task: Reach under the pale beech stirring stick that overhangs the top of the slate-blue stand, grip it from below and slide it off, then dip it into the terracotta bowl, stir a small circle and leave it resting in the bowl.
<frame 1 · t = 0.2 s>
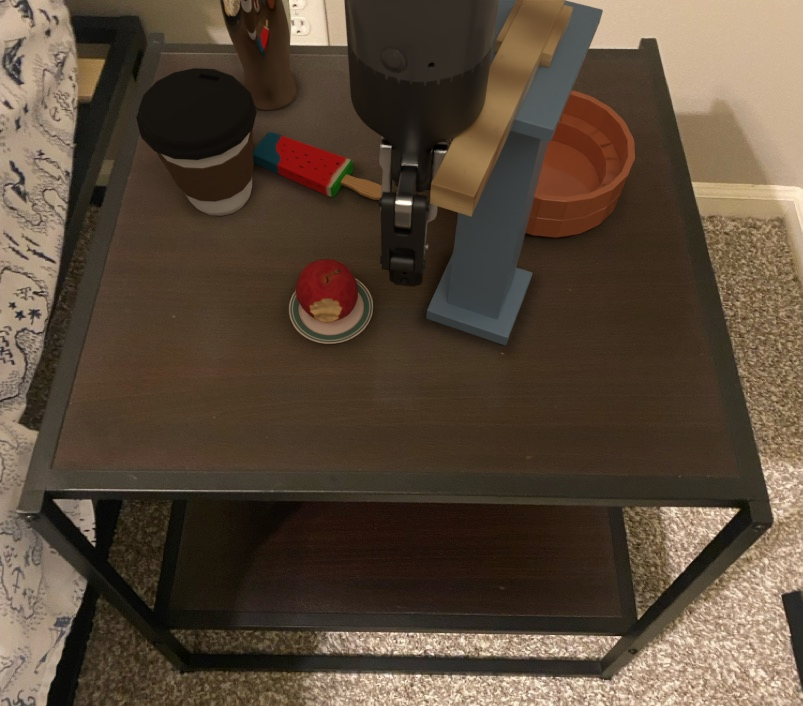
hand: (413, 231, 50), 18 cm above the nightstand, tool pointing down, fingers open, 8 cm apart
coffee cup: (221, 195, 75), on the nightstand
stick: (501, 102, 42), point 28 cm above the nightstand, touching hand
stand: (479, 299, 69), on the nightstand
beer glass: (271, 93, 83), on the nightstand
popsicle: (321, 176, 77), on the nightstand
bowl: (544, 182, 77), on the nightstand
apple: (331, 311, 68), on the nightstand
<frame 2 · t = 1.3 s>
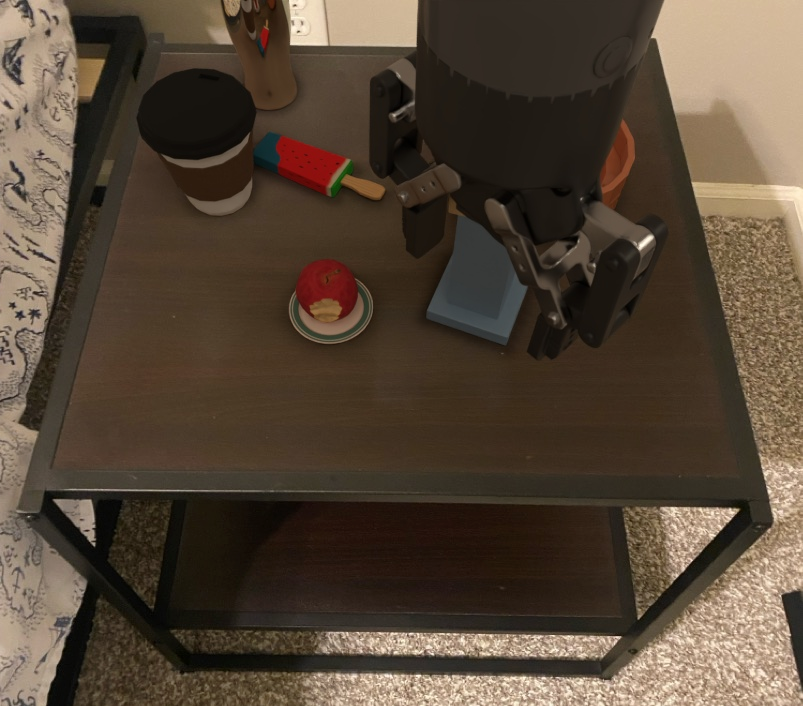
hand: (482, 294, 37), 27 cm above the nightstand, tool pointing down, fingers open, 8 cm apart
stick: (508, 106, 42), point 28 cm above the nightstand, touching stand
everything else where it was.
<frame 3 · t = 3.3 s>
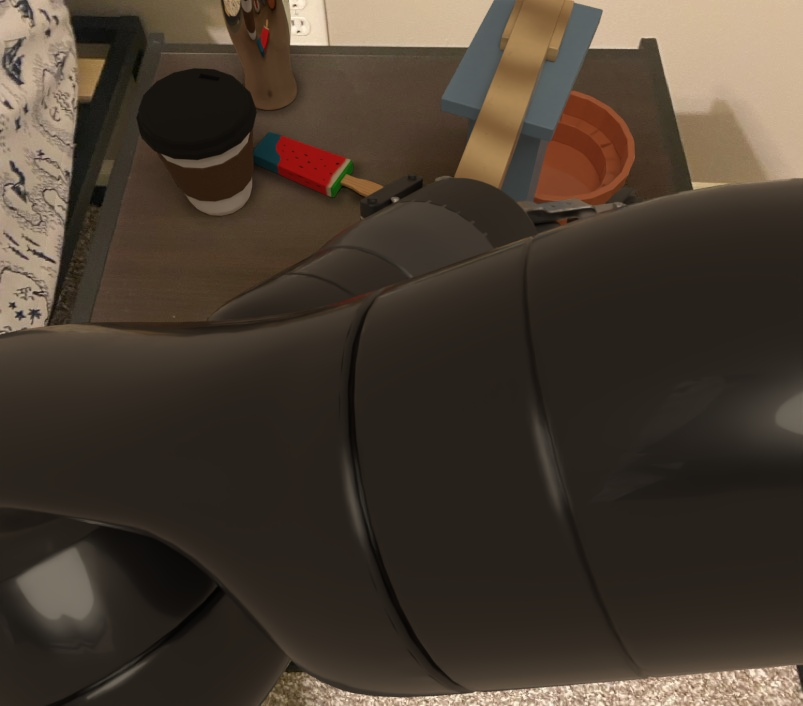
hand: (552, 193, 41), 26 cm above the nightstand, tool tilted 65°, fingers open, 8 cm apart
nothing on the nightstand moved.
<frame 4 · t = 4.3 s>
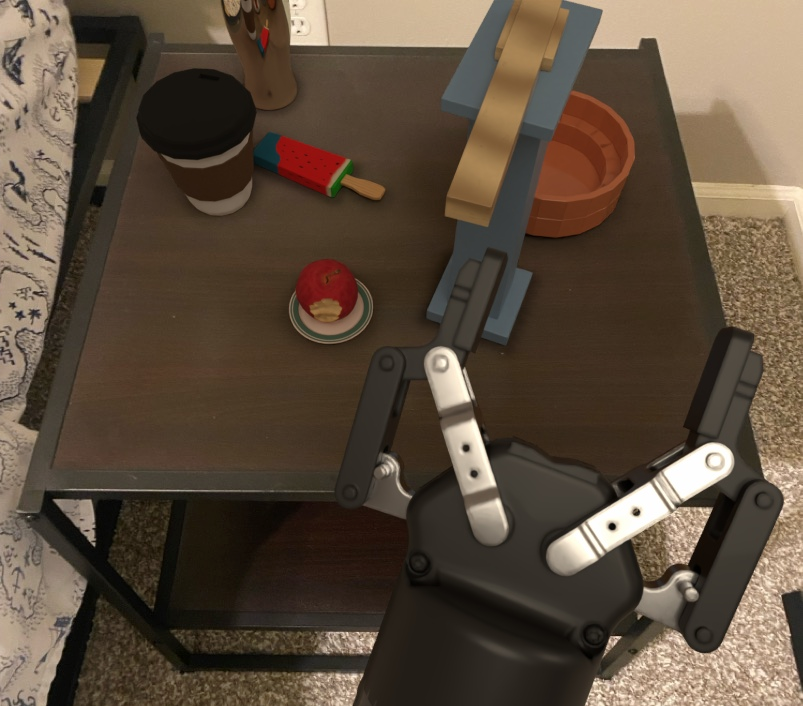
hand: (613, 290, 25), 37 cm above the nightstand, tool pointing upward, fingers open, 8 cm apart
stick: (506, 109, 42), point 28 cm above the nightstand, touching stand
everything else where it was.
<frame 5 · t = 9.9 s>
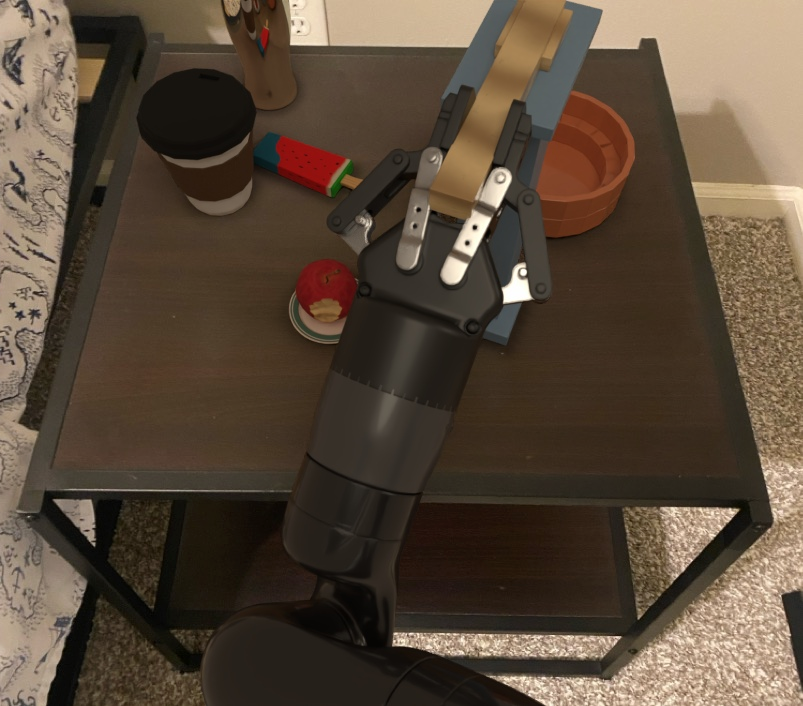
hand: (493, 99, 39), 30 cm above the nightstand, tool pointing upward, fingers closed on stick, 2 cm apart
stick: (500, 106, 42), point 28 cm above the nightstand, touching gripper, stand
everything else where it was.
when the fingers open (9 cm above the nightstand, at t = 30.8 s): stick drops 4 cm and tips over, resting on bowl.
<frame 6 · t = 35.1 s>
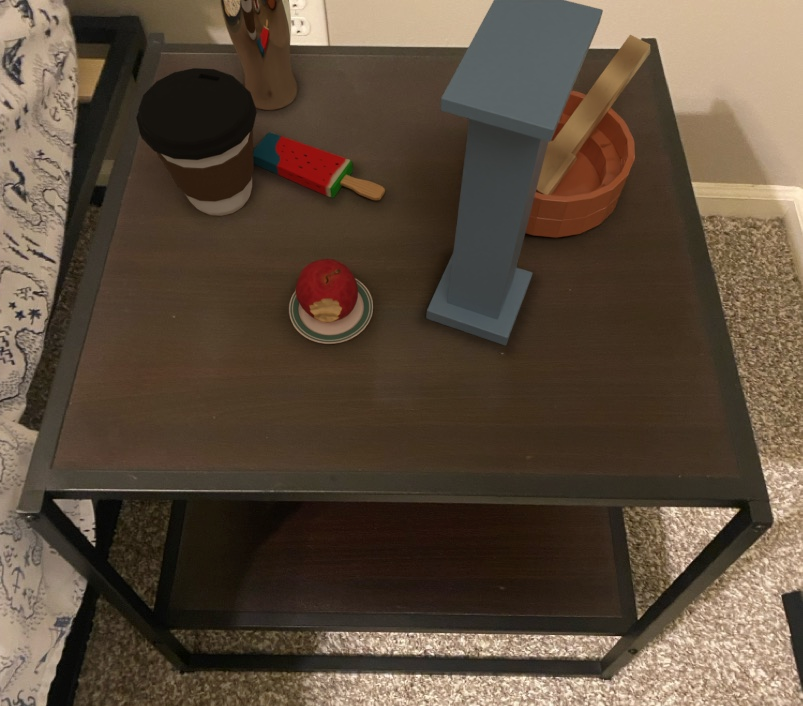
stick: (585, 114, 73), point 6 cm above the nightstand, tilted 150°, touching bowl
everything else where it was.
at the end: stick inside the target area on the bowl (4.8 cm from its centre), point 6.5 cm above the bowl's base; the gripper is holding nothing; stick moved 34.2 cm from its start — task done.
